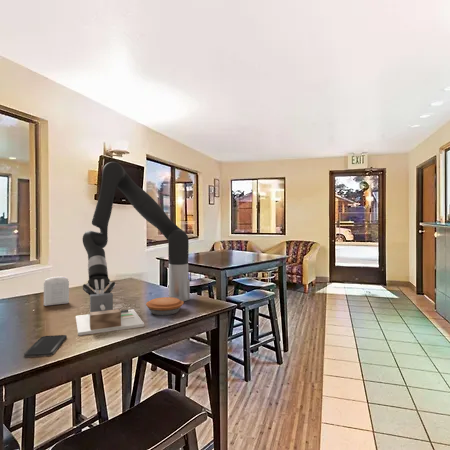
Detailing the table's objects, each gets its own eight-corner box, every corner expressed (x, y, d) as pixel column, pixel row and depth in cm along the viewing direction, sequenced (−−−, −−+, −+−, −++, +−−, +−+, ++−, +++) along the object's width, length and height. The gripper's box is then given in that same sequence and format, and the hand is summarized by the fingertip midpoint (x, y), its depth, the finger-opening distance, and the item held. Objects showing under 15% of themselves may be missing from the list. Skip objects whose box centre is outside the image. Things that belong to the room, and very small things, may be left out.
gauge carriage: (127, 311, 138) (127, 291, 137) (130, 315, 131) (130, 294, 131) (90, 315, 132) (89, 294, 131) (91, 320, 125) (91, 298, 125)
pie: (167, 319, 132) (167, 306, 132) (137, 313, 140) (137, 301, 140) (190, 309, 146) (190, 298, 146) (162, 304, 153) (162, 293, 153)
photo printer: (68, 301, 159) (67, 274, 158) (69, 303, 155) (69, 276, 155) (43, 304, 153) (42, 277, 153) (44, 306, 149) (43, 278, 149)
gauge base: (133, 311, 142) (133, 308, 142) (144, 326, 123) (144, 322, 123) (75, 318, 133) (75, 314, 133) (78, 335, 114) (77, 331, 114)
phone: (67, 334, 112) (52, 352, 98) (67, 338, 112) (52, 356, 98) (41, 336, 111) (22, 354, 96) (41, 339, 111) (22, 358, 96)
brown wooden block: (119, 322, 124) (119, 309, 124) (120, 325, 121) (120, 311, 120) (89, 326, 120) (89, 312, 120) (90, 330, 116) (90, 315, 116)
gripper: (80, 264, 139) (82, 301, 128) (114, 262, 145) (119, 297, 134) (80, 275, 144) (82, 311, 133) (113, 273, 150) (117, 307, 139)
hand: (100, 304), depth 134 cm, fingers closed
